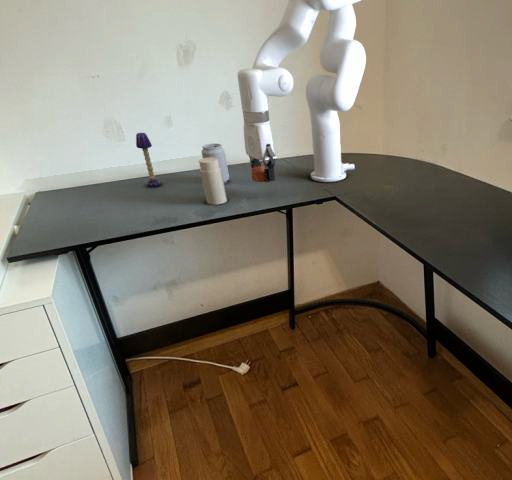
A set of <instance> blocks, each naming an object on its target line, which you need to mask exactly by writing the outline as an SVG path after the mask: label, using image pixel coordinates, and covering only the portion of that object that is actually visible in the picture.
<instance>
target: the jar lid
mask: <svg viewBox="0 0 512 480" xmlns="http://www.w3.org/2000/svg"><path fill="white" fill-rule="evenodd" d="M264 169H265V166H264V165H261V166H257V167H254V168H252V167H251V170H250V171H251V180H252V181H253V182H255V183H256V182H257V183H267V182H266V181H265V173H264ZM274 173H275V174H276V172H275V170H274Z"/></svg>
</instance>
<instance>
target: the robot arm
mask: <svg viewBox="0 0 512 480" xmlns="http://www.w3.org/2000/svg"><path fill="white" fill-rule="evenodd" d="M359 2H362V0H288V3H287V5H286V8H285V10H284V13H283V16H282V18H281V20H280V22H279V24H278V25H277V27H276V28H275V29H274V30H273V31H272V32H271V34H270V35H269V36H268V37H267V39H266V40H265V41H264V42H263V44H262V45H261V47H260V48H259V50H258V52H257V54H256V57H255V59H254V63H253V65H252V68H243V69H239V70H238V72H237V83H238V90H239V96H240V103H241V105H240V106H241V111H242V119H243V140H244V141H243V142H244V150H245V154H246V155H247V156H248V157H249V162H250V166H251V169H252V168H254V167H257V166H262V163H263V166H265V169H264V173H265V181H266V182H265V183H271V182H275V181H276V172H275V173H274V171H275V167H276V162H277V155H276V154H275V149H274V141H273V135H272V129H271V126H270V123H271V122H270V121H271V120H270V111H269V104H268V103H269V102H268V97H276V98H277V97H285V96H287V95H289V94H291V92H292V90H293V88H294V77H293V75H292V74H291V72H290V71H288V69H285V68H283V67H281V66H279V65H281V62H282V61H283V60H284V59H285V58H286V57H287V56H288V55H289V54H290V53H292V52H295V51H296V50H298V49H299V48H301V47H302V46H304V45H305V44H306V43H307V42H308V40H309V37H310V35H311V32H312V30H313V27H314V25H315V22H316V20H317V17H318V15H319V13H320V11H328V16H329V17H328V22H327V26H326V31H325V33H324V37H323V42H322V44H321V49H320V53H319V65H320V66H321V68H322V69H323V70H324V71H326V72H327V73H331V74H335V76H333V75H327V74H317V75H314V76H312V77H311V78H310V79H309V80H308V82H307V83H306V86H305V97H306V102H307V106H308V112H309V116H310V124H311V125H310V126H311V139H312V140H311V141H312V153H313V155H312V156H313V167H314V171H311V173H310V179H311V180H313V181H316V182H321V183H333V182H334V183H335V182H339V181H342V180H344V179H346V177H347V173H346V172H347V171H355V169H356V167H355V163H349V162H346V163H343V162H342V150H341V149H342V147H341V123H340V118H339V115H338V113H346V112H348V111H349V110H350V109H351V108H352V107H353V106H354V104H355V101H356V99H357V96H358V92H359V89H360V85H361V83H362V79H363V76H364V72H365V70H366V63H367V56H366V55H367V54H366V50H365V48H364V46H363V44H362V43H361V42H360V41H358V40H356V39H354V36H355V32H356V27H357V18H356V12H355V9H354V6H353V5H354V4H357V3H359ZM261 161H262V163H261Z"/></svg>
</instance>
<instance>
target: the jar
mask: <svg viewBox="0 0 512 480" xmlns="http://www.w3.org/2000/svg"><path fill="white" fill-rule="evenodd" d="M198 163H199V174H200V178H201V182H202V187H203V191H204V196H205V201H206V203H207V204H208V205H213V206H215V205H223V204H225V203H227V201H228V197H227V193H226V192H227V191H226V187H225V183H224V182H223V177H222V171H221V167H220V166H219V160H218V158H214V157H208V158H203V157H202V158H200V159H199V160H198Z"/></svg>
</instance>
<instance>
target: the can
mask: <svg viewBox="0 0 512 480" xmlns="http://www.w3.org/2000/svg"><path fill="white" fill-rule="evenodd" d="M200 152H201V156H202V158H208V157H214V158H218V160H219V166H220V167H221V171H222V177H223V182H224V184H226V183H228V181H229V180H230V173H229V168H228V163H227V157H226V151H225V148H224V147H222V144H221V143H207V144H204V145H202V149H201V151H200Z"/></svg>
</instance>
